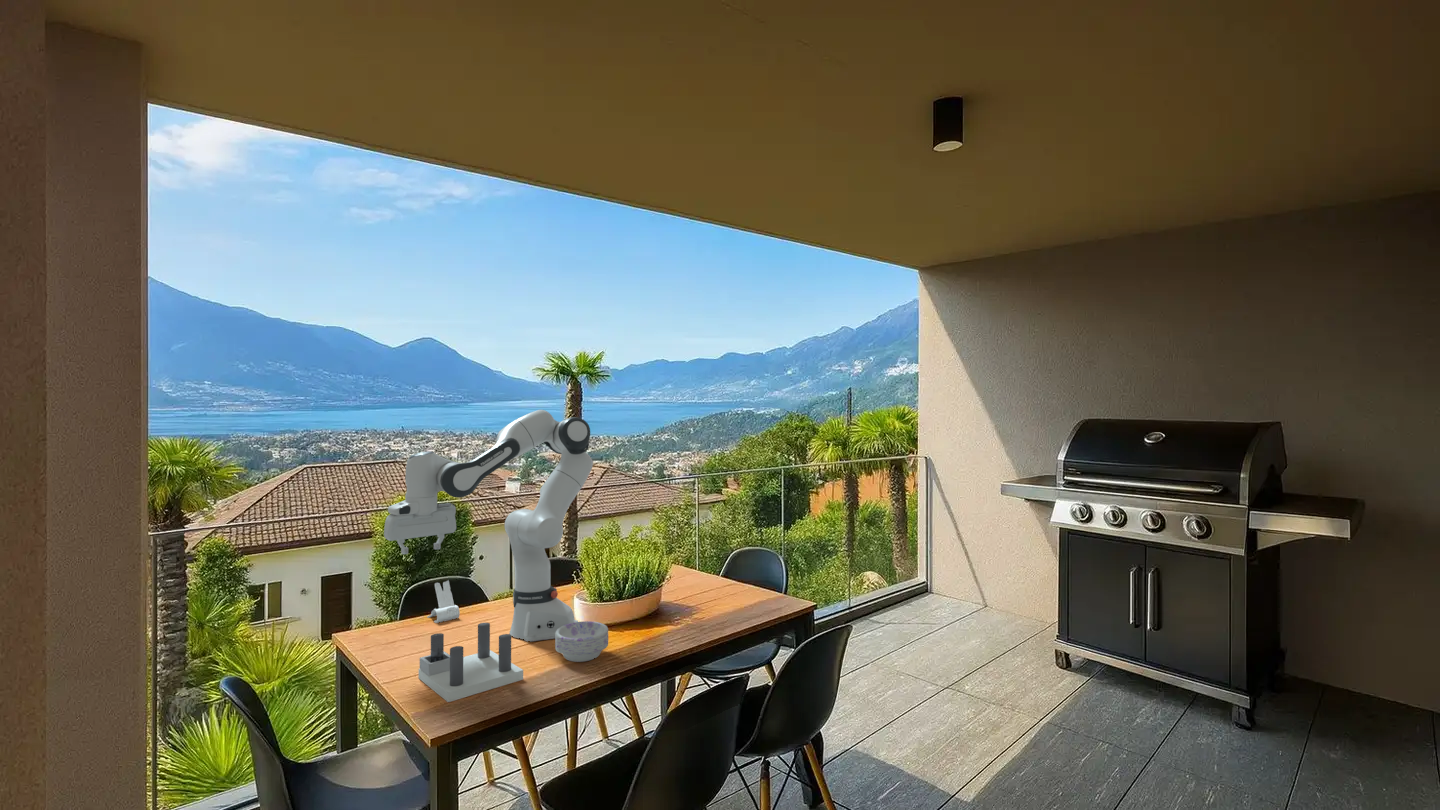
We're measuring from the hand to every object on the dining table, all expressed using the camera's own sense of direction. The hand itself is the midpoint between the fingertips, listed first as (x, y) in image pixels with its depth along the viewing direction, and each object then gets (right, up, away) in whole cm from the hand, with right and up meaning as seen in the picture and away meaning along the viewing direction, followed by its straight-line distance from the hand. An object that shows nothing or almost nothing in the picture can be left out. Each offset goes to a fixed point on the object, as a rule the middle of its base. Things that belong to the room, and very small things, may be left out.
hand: (421, 551), depth 200 cm
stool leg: (+14, -27, -22) cm, 38 cm away
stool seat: (+24, -29, -23) cm, 44 cm away
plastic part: (-5, -29, +28) cm, 41 cm away
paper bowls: (+50, -30, -6) cm, 58 cm away
